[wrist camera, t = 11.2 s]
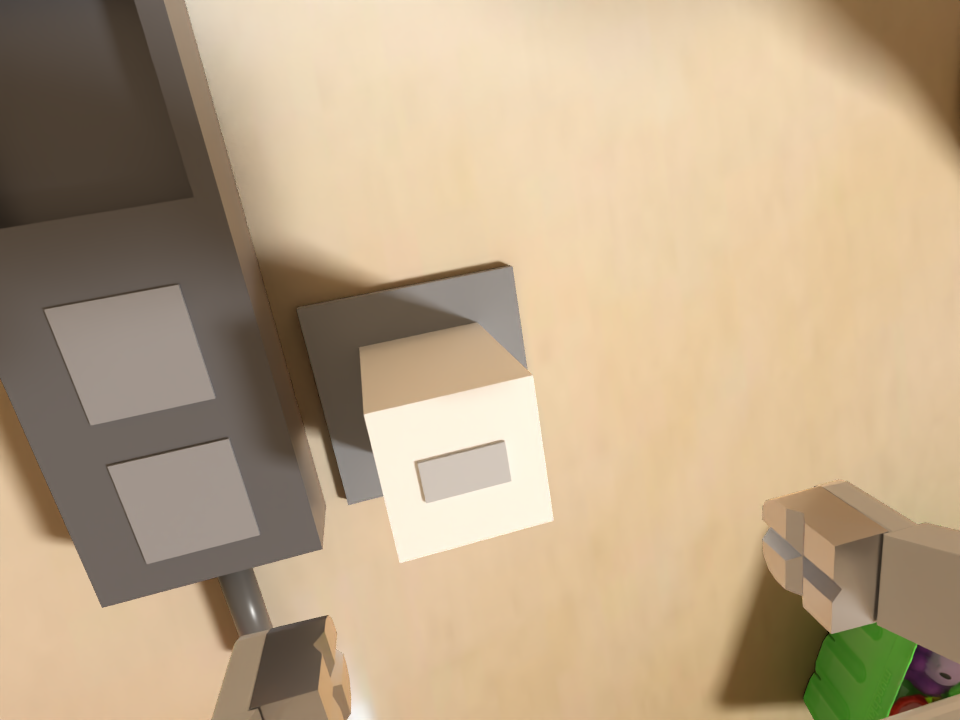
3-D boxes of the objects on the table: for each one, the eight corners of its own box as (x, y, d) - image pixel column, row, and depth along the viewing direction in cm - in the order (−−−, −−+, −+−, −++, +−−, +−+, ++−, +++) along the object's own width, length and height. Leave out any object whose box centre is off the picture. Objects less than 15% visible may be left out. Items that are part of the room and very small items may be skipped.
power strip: (161, -82, 17) (110, -159, 13) (359, 625, 24) (361, 698, 21) (-116, -58, 16) (-255, -136, 12) (184, 677, 23) (155, 763, 20)
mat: (509, 265, 22) (512, 266, 21) (536, 452, 24) (539, 455, 24) (297, 307, 20) (296, 309, 20) (348, 500, 23) (348, 504, 22)
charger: (477, 322, 22) (534, 376, 15) (495, 429, 23) (554, 522, 16) (359, 347, 21) (363, 415, 14) (385, 456, 22) (400, 565, 16)
